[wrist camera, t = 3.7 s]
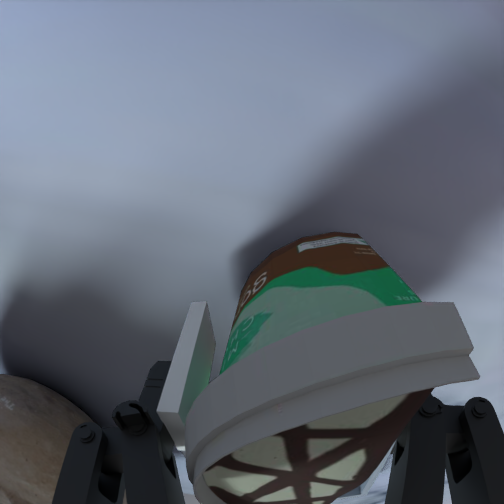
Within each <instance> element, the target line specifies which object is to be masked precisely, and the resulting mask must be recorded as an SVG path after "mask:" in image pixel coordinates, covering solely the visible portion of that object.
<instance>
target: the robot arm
mask: <svg viewBox="0 0 504 504" xmlns="http://www.w3.org/2000/svg"><path fill="white" fill-rule="evenodd" d="M215 345H216V343H215V338H214V334H213V329H212V324H211V320H210V315H209V310H208V305H207V301H204V302H191V305H190V308H189V311H188V314H187V317H186V320H185V323H184V326H183V329H182V332H181V335H180V338H179V341H178V344H177V347H176V350H175V353H174V356H173V359H172V361H157V362H156V364H155V365H154V366H153V367H152V368H151V369H150V372H149V374H148V377H147V380H146V382H145V385H144V388H143V391H142V393H141V396H140V399H139V402H138V401H126V402H123V403H121V404H120V405H119V406H117V407H116V409H115V410H114V411H113V415H112V418H113V420H114V421H115V423H116V424H117V425H118V426H117V427H111V428H104V429H101V427H100V426H99V425H97V424H96V423H93V422H84V423H82V424H80V425H79V426H77V427H76V428H75V430H74V431H73V433H72V436H71V439H70V442H69V445H68V448H67V452H66V455H65V458H64V461H63V465H62V468H61V471H60V475H59V478H58V482H57V485H56V489H55V493H54V496H53V500H52V504H123V499H124V493H125V491H126V500H127V504H185V501H184V496H183V492H182V488H181V484H180V479H179V475H178V470H177V466H176V461H175V457H174V455H173V453H172V451H173V447H174V444H175V446H176V448H177V449H178V450H182V451H185V437H184V430H185V423H186V417H187V415H188V413H189V411H190V409H191V407H192V405H193V403H194V400H195V399H196V398H197V397H198V396H199V395H200V394H201V392H202V391H203V390H204V389H205V388H206V387H207V385H208V384H209V378H210V372H211V367H212V362H213V356H214V351H215ZM393 452H394V453H393ZM390 454H393V460H392V467H391V473H390V479H389V484H388V490H387V495H386V500H385V504H442V503H443V492H444V479H445V469H446V474H447V478H448V483H449V489H450V494H451V500H452V504H504V433H503V430H502V428H501V425H500V423H499V420H498V417H497V415H496V412H495V410H494V408H493V406H492V404H491V403H490V402H489V401H488V400H487V399H485V398H482V397H474V398H472V399H469V400H468V402H467V403H466V404H465V406H451V405H444V404H443V403H442V402H441V401H440V400H439V399H437V398H436V397H433V396H432V394H431V393H430V395H429V396H428V397H427V399H426V400H425V402H424V403H423V404H422V406H421V407H420V408H419V410H418V411H417V412H416V414H415V415H414V416H413V417H412V419H411V420H410V421H409V423H408V424H407V425H406V426H405V428H404V429H403V431H402V432H401V434H400V435H399V437H398V438H397V440H396V442H395V444H394V446H393V448H392V450H391V453H390Z"/></svg>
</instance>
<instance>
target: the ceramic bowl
mask: <svg viewBox="0 0 504 504" xmlns="http://www.w3.org/2000/svg"><path fill="white" fill-rule="evenodd" d="M84 422H93V421H92V419H91V418H90V417H89V416H88V415H87V414H85V413H84V412H83V411H82V410H81V409H79V408H78V407H77V406H75V405H74V404H73V403H72V402H70V401H69V400H67V399H66V398H64V397H63V396H61V395H60V394H58V393H57V392H55V391H53V390H51V389H49V388H48V387H46V386H44V385H41V384H39V383H37V382H35V381H33V380H31V379H27V378H22V377H18V376H12V375H6V374H0V504H52V500H53V496H54V493H55V489H56V485H57V482H58V478H59V475H60V471H61V468H62V465H63V461H64V458H65V455H66V452H67V448H68V445H69V442H70V439H71V436H72V433H73V431H74V430H75V428H76V427H77V426H79V425H80V424H82V423H84ZM93 423H94V422H93ZM123 504H127V500H126V491H125V493H124V499H123Z"/></svg>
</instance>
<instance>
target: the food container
mask: <svg viewBox="0 0 504 504" xmlns="http://www.w3.org/2000/svg"><path fill="white" fill-rule="evenodd" d="M473 348H474V347H473V345H472V342H471V340H470V338H469V335H468V333H467V331H466V328H465V326H464V324H463V322H462V319H461V317H460V315H459V313H458V311H457V309H456V307H455V304H454V302H422V301H421V300H420V299H419V297H418V296H417V295H416V294H415V293H414V292H413V291H412V290H411V289H410V288H409V286H408V285H407V284H406V283H405V282H404V281H403V280H402V279H401V278H400V277H399V276H398V275H397V274H396V273H395V271H394V270H393V269H392V268H391V267H390V266H389V265H388V264H387V263H386V262H385V261H384V260H383V259H382V258H381V257H380V256H379V255H378V254H377V253H376V252H375V251H374V250H373V249H372V248H371V247H370V246H369V245H368V244H367V243H366V242H365V241H364V240H363V239H362V238H361V237H360V236H359V235H358V234H353V233H342V232H330V233H325V234H319V235H314V236H308V237H302V238H300V239H298V240H296V241H294V242H292V243H290V244H288V245H286V246H284V247H282V248H280V249H278V250H276V251H274V252H272V253H271V254H270V255H269V256H268V257H267V258H266V259H265V260H264V261H263V262H262V263H261V264H260V265H259V266H258V267H257V268H256V269H255V270H254V271H252V272H251V274H250V276H249V278H248V280H247V282H246V284H245V285H244V287H243V289H242V291H241V295H240V299H239V303H238V306H237V310H236V314H235V318H234V321H233V325H232V329H231V333H230V337H229V340H228V344H227V348H226V352H225V356H224V359H223V363H222V367H221V371H220V375H219V376H218V377H217V378H215V379H214V380H213V381H212V382H210V383H209V384H208V385H207V387H206V388H205V389H204V390H203V391H202V392H201V394H200V395H199V396H198V397H197V398H196V399H195V400H194V403H193V405H192V407H191V409H190V411H189V413H188V415H187V417H186V423H185V430H184V437H185V454H186V468H187V473H188V477H189V480H190V481H191V483H192V484H193V489H194V494H195V497H196V499H197V500H198V501H199V502H200V504H330V503H332V502H333V501H334V500H335V499H337V498H338V497H340V496H342V495H344V494H346V493H348V492H350V491H352V490H354V489H355V488H357V487H358V486H360V485H361V484H363V483H364V482H365V481H366V480H367V479H368V478H369V477H370V476H371V474H372V473H373V472H374V471H375V470H376V468H377V467H378V466H379V464H380V463H381V461H382V460H383V459H384V457H385V456H386V454H387V453H388V451H389V450H390V448H391V447H392V445H393V444H394V442H395V441H396V440H397V438H398V437H399V435H400V434H401V432H402V431H403V429H404V428H405V426H406V425H407V424H408V423H409V421H410V420H411V419H412V417H413V416H414V415H415V414H416V412H417V411H418V410H419V408H420V407H421V406H422V404H423V403H424V402H425V400H426V399H427V397H428V396H429V395H430V393H431V392H432V391H433V389H434V388H435V387H439V386H443V385H447V384H451V383H459V382H466V381H472V380H478V379H479V378H480V375H479V373H478V371H477V369H476V368H475V366H474V364H473V362H472V360H471V358H470V357H469V354H470V353H471V352H472V350H473Z"/></svg>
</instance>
